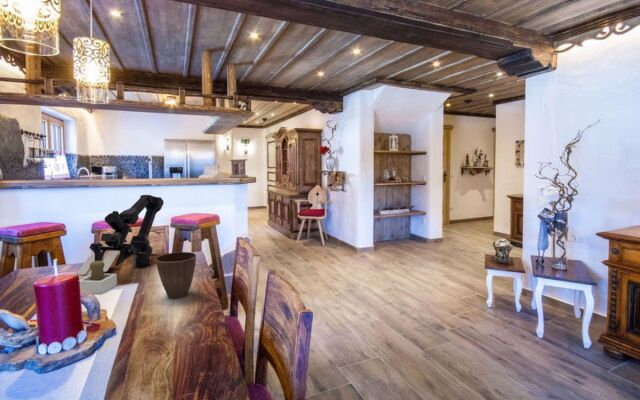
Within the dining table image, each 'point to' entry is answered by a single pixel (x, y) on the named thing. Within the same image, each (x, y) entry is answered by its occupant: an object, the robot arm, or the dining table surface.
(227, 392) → the dining table surface
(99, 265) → the cork
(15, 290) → the dining table surface
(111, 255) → the grey slanted panel stand
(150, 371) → the dining table surface
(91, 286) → the grey open box
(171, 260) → the plant pot
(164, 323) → the dining table surface
